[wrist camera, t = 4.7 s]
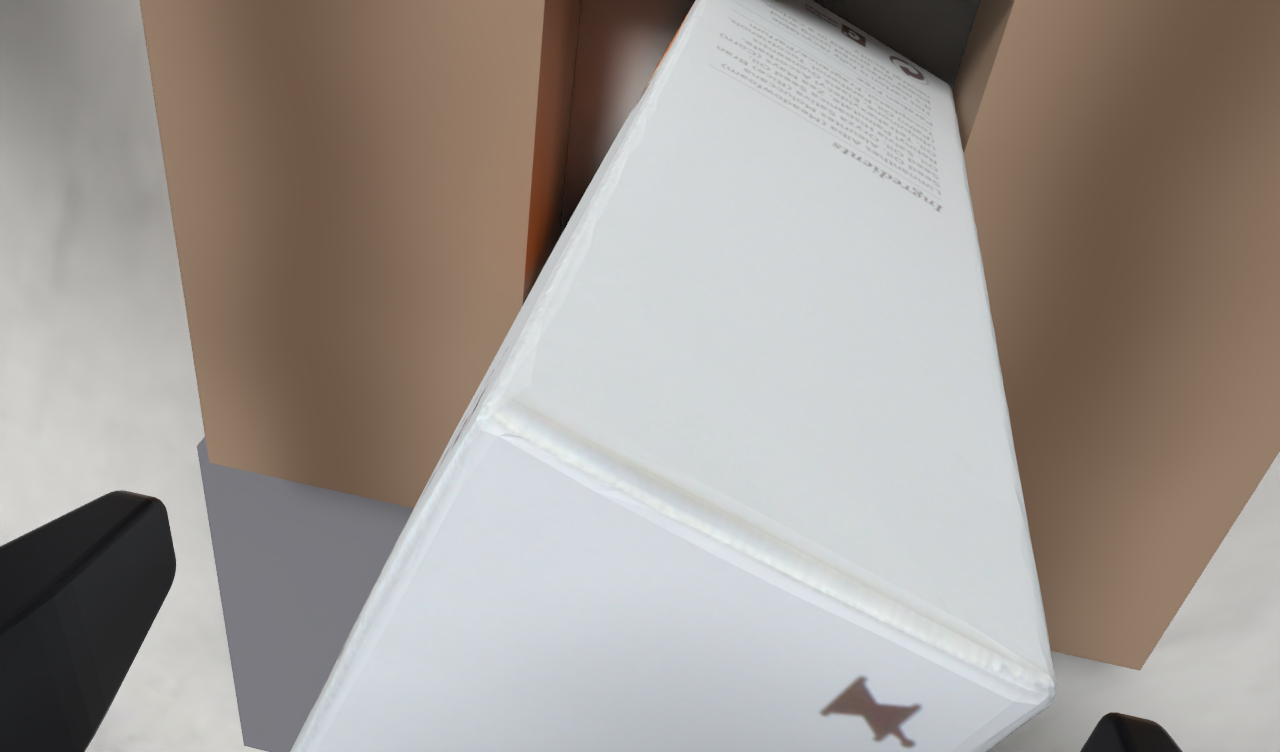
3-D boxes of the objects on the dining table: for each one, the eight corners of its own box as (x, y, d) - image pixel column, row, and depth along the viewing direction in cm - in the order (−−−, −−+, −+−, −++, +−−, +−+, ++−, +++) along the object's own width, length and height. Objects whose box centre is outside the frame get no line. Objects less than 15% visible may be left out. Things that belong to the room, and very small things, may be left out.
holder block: (1555, -210, 13) (1686, -189, 11) (1112, 573, 21) (1139, 670, 19) (186, -429, 14) (72, -445, 12) (269, 389, 22) (209, 462, 20)
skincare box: (721, -65, 15) (482, 383, 6) (957, 81, 16) (1102, 710, 6) (555, 242, 19) (228, 845, 9) (754, 352, 20) (646, 1030, 10)
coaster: (691, 535, 22) (687, 554, 22) (629, 818, 29) (625, 838, 28) (210, 429, 23) (196, 446, 23) (254, 727, 29) (244, 745, 29)
